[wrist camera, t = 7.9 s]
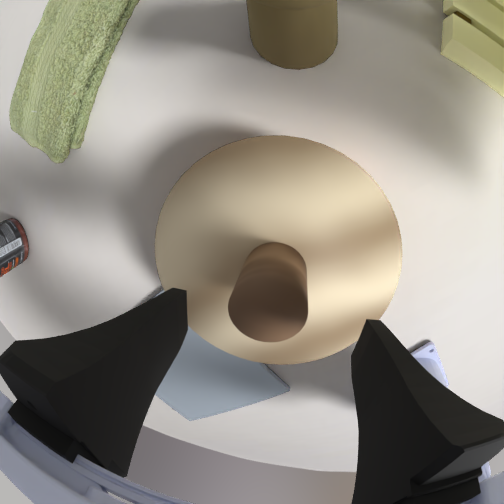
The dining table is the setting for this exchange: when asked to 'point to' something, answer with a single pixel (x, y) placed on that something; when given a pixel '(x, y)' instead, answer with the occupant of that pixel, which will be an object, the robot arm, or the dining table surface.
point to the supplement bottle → (12, 245)
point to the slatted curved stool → (476, 38)
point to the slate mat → (214, 380)
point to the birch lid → (279, 249)
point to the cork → (293, 31)
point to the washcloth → (65, 72)
